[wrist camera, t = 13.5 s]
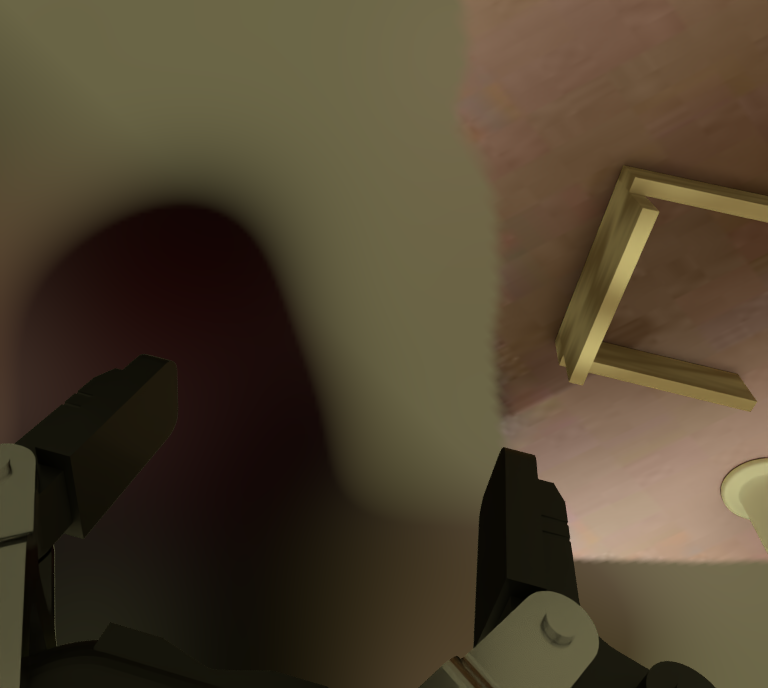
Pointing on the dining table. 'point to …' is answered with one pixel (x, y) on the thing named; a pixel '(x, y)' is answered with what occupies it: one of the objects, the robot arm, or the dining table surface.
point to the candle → (749, 495)
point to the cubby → (612, 273)
